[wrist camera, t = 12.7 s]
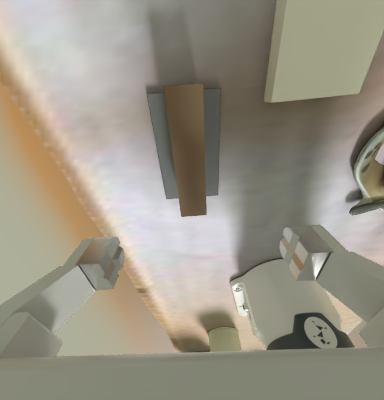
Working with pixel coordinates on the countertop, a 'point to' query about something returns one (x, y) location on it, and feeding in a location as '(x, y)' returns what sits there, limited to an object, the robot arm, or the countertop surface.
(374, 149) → the plate of avocado toast
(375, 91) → the countertop surface
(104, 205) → the countertop surface
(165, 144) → the pad
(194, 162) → the brown long block
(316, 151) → the countertop surface
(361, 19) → the tile
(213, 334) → the can
